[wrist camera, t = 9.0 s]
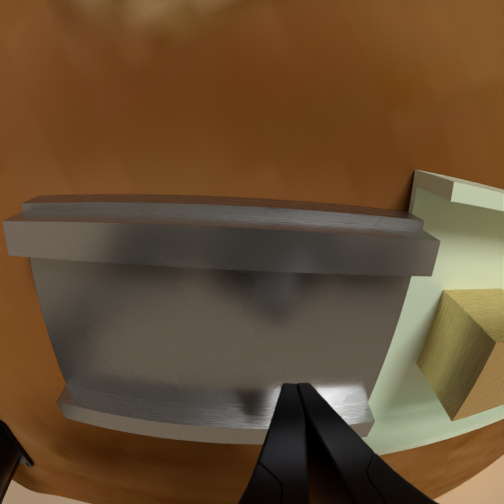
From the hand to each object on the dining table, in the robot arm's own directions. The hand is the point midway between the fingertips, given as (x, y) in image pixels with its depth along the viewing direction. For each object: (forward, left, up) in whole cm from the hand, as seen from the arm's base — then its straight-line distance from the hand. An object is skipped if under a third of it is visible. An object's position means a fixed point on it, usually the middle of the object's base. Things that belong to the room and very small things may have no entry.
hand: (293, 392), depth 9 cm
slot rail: (0, +3, -4) cm, 4 cm away
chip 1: (0, -9, -3) cm, 9 cm away
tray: (0, -10, -4) cm, 11 cm away
